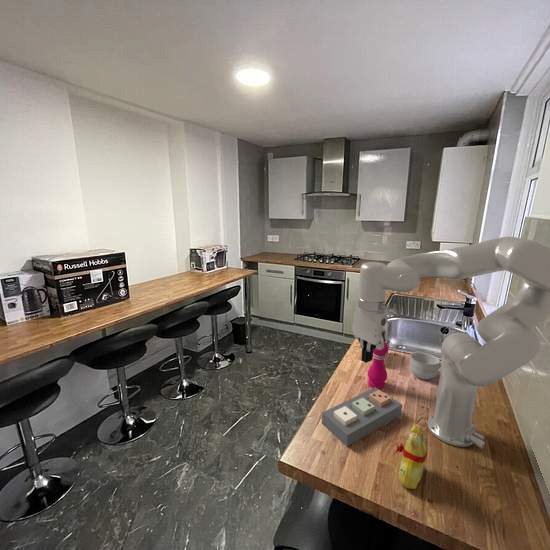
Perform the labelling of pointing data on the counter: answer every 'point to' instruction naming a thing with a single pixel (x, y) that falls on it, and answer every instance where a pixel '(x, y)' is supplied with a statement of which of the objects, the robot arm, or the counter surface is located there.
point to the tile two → (363, 407)
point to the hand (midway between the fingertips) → (366, 360)
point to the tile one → (345, 416)
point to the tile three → (379, 398)
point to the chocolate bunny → (412, 458)
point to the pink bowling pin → (378, 369)
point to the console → (360, 419)
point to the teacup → (424, 365)
